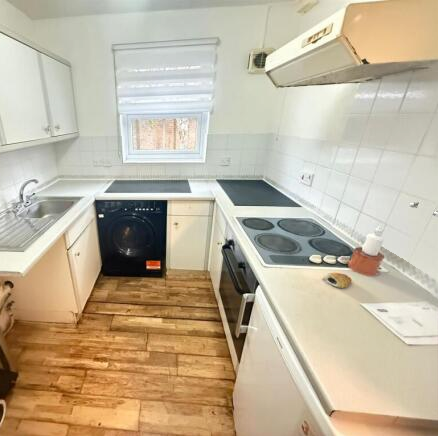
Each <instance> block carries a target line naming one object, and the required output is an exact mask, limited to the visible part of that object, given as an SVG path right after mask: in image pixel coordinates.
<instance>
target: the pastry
mask: <svg viewBox="0 0 438 436" xmlns="http://www.w3.org/2000/svg"><path fill="white" fill-rule="evenodd" d="M323 279H324V282H326V283H327V284H329V285H331V286H333V287H335V288H337V289H344V288H347V287H348V286H350V284H351V283H352V281H353V279H352V278H351V277H350V276H348V274H345V273H340V272H330V273H328V274H327V275H326V276H324V277H323Z"/></svg>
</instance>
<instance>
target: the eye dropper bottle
mask: <svg viewBox="0 0 438 436" xmlns="http://www.w3.org/2000/svg"><path fill="white" fill-rule="evenodd" d="M382 234H383V229H382V226H380V225H379V226H378V227H377V228H374V230H373V232H372V233H371V232H370V233H368V234H367V236H366V238H365V240H364V242H363V245H362V247H363V248H362V250H363V251H364V252H365V253H366V254H368V255H371V256H377V254H378V252H380V249H381V248H382V245H383V243H384V238H383V236H382Z"/></svg>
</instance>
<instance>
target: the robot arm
mask: <svg viewBox="0 0 438 436" xmlns="http://www.w3.org/2000/svg"><path fill="white" fill-rule="evenodd" d="M418 204H419V202H413V201H411V202H409V204H408V206H409V207H410V208H413V209H417V208H418V207H417V206H418ZM432 216H433V217H437V218H438V211H434V213H432Z"/></svg>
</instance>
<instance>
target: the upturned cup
mask: <svg viewBox="0 0 438 436" xmlns="http://www.w3.org/2000/svg"><path fill="white" fill-rule="evenodd" d="M362 248H363V246H358V247H355V248H354V250H353V252H352V256H351V258H350V261H348V263H347V266H348V268H349V269H350V270H352V271H354V272H356V273H358V274H361V275H365V276H370V277H374V276H377V275H378V274H379V269H380V267H381V264H382V263H383V260H384V259H385V255H384V254H383V253H382V252H380V251H379V252H378V254H377V256H371V255H368V254H366V253H365V252H364V251H363V250H362Z"/></svg>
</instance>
